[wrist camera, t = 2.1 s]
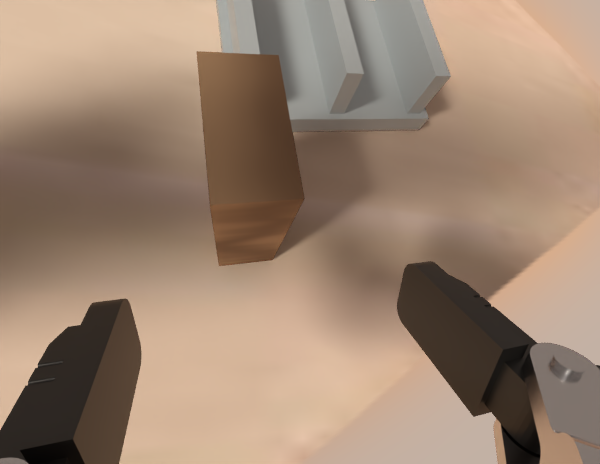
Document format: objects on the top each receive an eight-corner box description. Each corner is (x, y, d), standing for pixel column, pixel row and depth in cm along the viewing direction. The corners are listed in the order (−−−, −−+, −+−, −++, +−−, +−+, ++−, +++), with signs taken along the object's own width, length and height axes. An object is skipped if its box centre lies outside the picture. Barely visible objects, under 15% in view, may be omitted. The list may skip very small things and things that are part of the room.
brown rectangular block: (219, 266, 21) (209, 205, 11) (210, 169, 23) (196, 51, 13) (272, 259, 22) (304, 198, 12) (259, 167, 24) (278, 54, 14)
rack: (231, 132, 24) (231, 76, 19) (216, 4, 28) (213, -73, 23) (418, 129, 28) (461, 82, 23) (383, 17, 32) (413, -46, 26)
